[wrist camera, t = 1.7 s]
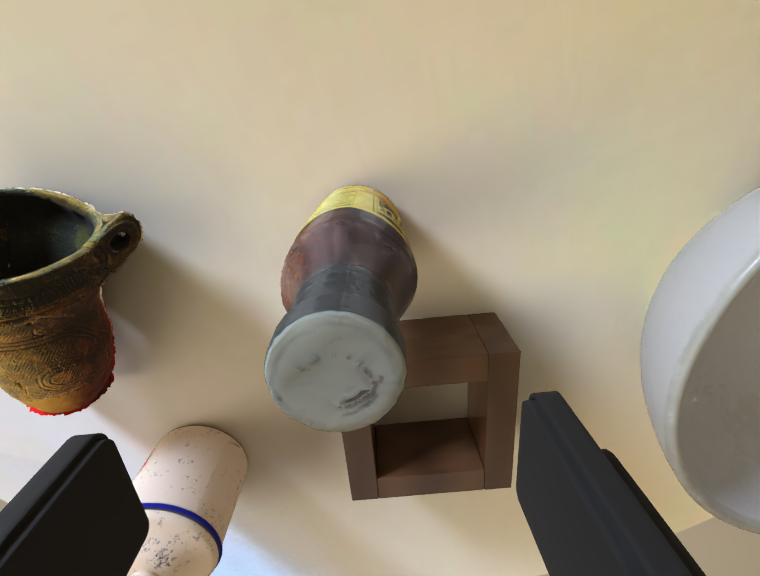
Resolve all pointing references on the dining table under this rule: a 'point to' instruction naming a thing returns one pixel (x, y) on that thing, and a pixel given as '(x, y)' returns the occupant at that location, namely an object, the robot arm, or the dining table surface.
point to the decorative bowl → (710, 365)
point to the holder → (445, 437)
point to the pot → (57, 297)
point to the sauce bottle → (343, 314)
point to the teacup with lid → (188, 501)
